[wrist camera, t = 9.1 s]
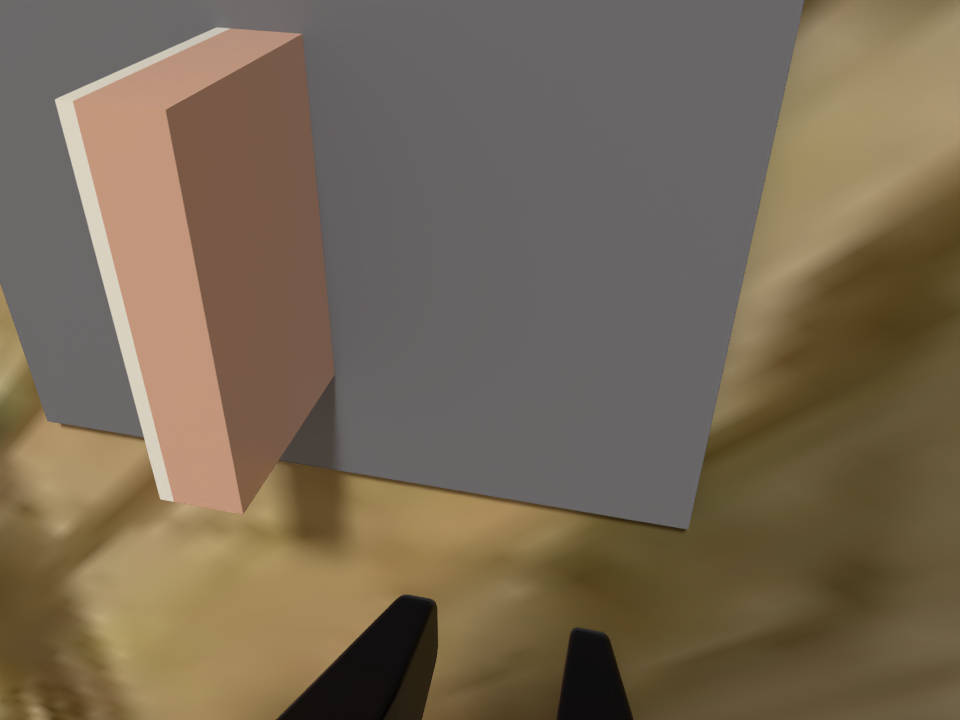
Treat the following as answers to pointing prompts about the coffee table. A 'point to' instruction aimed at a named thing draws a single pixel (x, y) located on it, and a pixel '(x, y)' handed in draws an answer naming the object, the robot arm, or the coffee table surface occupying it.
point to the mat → (455, 228)
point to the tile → (209, 252)
